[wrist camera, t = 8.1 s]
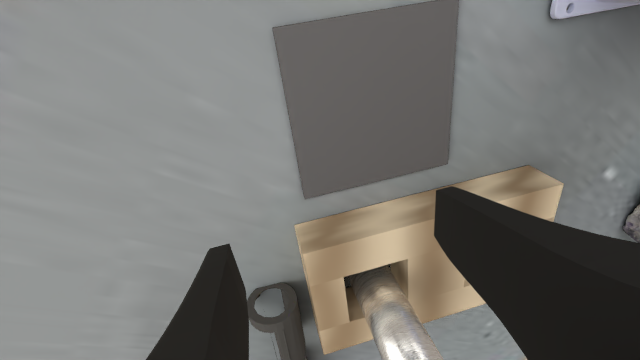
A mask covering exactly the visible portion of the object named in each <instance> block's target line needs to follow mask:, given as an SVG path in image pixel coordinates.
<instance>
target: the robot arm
mask: <svg viewBox="0 0 640 360" xmlns="http://www.w3.org/2000/svg"><path fill="white" fill-rule="evenodd" d="M639 4H640V0H552V5H551V10H550V15H551V17H552V18H553V19H564V18H569V17H574V16H580V15H585V14H590V13H596V12H601V11H606V10H612V9H617V8H622V7H628V6H633V5H639ZM567 6H568V9H567ZM566 9H567V11H566ZM434 237H435V239H436V240H437V242H438V243H439V245H440V247H441V248H442V250H443V251H444V253H445V254H446V256H447V257H448V259H449V260H450V261H451V262H452V264H453V265H454V266H455V267H456V268H457V270H458V271H459V272H460V273H461V274H462V276H463V277H464V278H465V279H466V280H467V281H468V283H469V284H470V285H471V286H472V287H473V288H474V290H475V291H476V292H477V293H478V294H479V295H480V297H481V298H482V299H483V300H484V301H485V302H486V303H487V305H488V306H489V307H490V308H491V309H492V310H493V312H494V313H495V314H496V316H497V317H498V318H499V319H500V321H501V322H502V323H503V325H504V326H505V327H506V329H507V330H508V332H509V333H510V334H511V336H512V337H513V339H514V340H515V342H516V343H517V344H518V346H519V347H520V349H521V350H522V352H523V353H524V355H525V356H526V358H527V359H528V360H640V243H636V242H631V241H626V240H621V239H616V238H611V237H607V236H603V235H598V234H594V233H591V232H587V231H583V230H579V229H575V228H572V227H568V226H565V225H561V224H558V223H554V222H551V221H548V220H545V219H542V218H539V217H536V216H533V215H530V214H527V213H524V212H522V211H519V210H516V209H513V208H511V207H508V206H505V205H503V204H500V203H497V202H495V201H492V200H489V199H487V198H484V197H482V196H479V195H476V194H474V193H471V192H468V191H466V190H463V189H460V188H457V187H454V186H450V187H446V188H442V189H438V190H436V201H435V221H434ZM146 360H249V317H248V307H247V299H246V291H245V286H244V284H243V281H242V278H241V275H240V272H239V270H238V267H237V264H236V261H235V258H234V256H233V253H232V250H231V247H230V244H226V245H222V246H218V247H214V248H210V249H209V251H208V252H207V254H206V256H205V259H204V261H203V263H202V265H201V267H200V269H199V271H198V273H197V275H196V277H195V279H194V281H193V283H192V285H191V287H190V289H189V291H188V292H187V294H186V296H185V298H184V300H183V302H182V304H181V305H180V307H179V309H178V311H177V312H176V314H175V315H174V317H173V319H172V320H171V322H170V324H169V325H168V327H167V329H166V330H165V332H164V334H163V335H162V337H161V338H160V340H159V341H158V343H157V344H156V346H155V347H154V349H153V350H152V352H151V353H150V354H149V356H148V357H147V359H146Z"/></svg>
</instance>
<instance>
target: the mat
mask: <svg viewBox="0 0 640 360" xmlns="http://www.w3.org/2000/svg"><path fill="white" fill-rule="evenodd" d="M458 7H459V0H436V1H430V2H424V3H418V4H412V5H406V6H400V7H394V8H388V9H382V10H376V11H370V12H364V13H358V14H352V15H346V16H340V17H334V18H328V19H322V20H316V21H310V22H304V23H298V24H292V25H286V26H280V27H274V28H273V33H274V39H275V44H276V49H277V55H278V60H279V65H280V71H281V76H282V81H283V87H284V92H285V98H286V103H287V108H288V114H289V119H290V124H291V130H292V135H293V140H294V146H295V151H296V156H297V162H298V167H299V172H300V178H301V183H302V188H303V194H304V198H305V199H307V198H311V197H316V196H320V195H324V194H328V193H332V192H336V191H340V190H344V189H348V188H352V187H356V186H360V185H364V184H368V183H372V182H377V181H381V180H385V179H389V178H393V177H397V176H401V175H405V174H409V173H413V172H417V171H421V170H425V169H429V168H434V167H438V166H442V165H446V164H448V152H449V138H450V123H451V109H452V94H453V80H454V65H455V51H456V36H457V21H458Z"/></svg>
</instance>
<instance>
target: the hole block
mask: <svg viewBox="0 0 640 360" xmlns="http://www.w3.org/2000/svg"><path fill="white" fill-rule="evenodd" d="M563 185H564V184H563V183H561V182H559V181H557V180H556V179H554V178H552V177H550V176H548V175H546V174H544V173H543V172H541V171H539V170H537V169H535V168H533V167H531V166H530V165H527V166H523V167H519V168H515V169H512V170H508V171H504V172H500V173H496V174H492V175H488V176H484V177H480V178H476V179H472V180H469V181H465V182H461V183H457V184H453V185H449V186H445V187H441V188H437V189H433V190H430V191H426V192H422V193H418V194H414V195H410V196H406V197H402V198H398V199H394V200H390V201H387V202H383V203H379V204H375V205H371V206H367V207H363V208H359V209H355V210H351V211H348V212H344V213H340V214H336V215H332V216H328V217H324V218H320V219H316V220H312V221H308V222H305V223H301V224H297V225H294V226H295V231H296V236H297V240H298V245H299V249H300V254H301V259H302V263H303V268H304V273H305V277H306V282H307V286H308V291H309V296H310V300H311V305H312V310H313V314H314V319H315V323H316V327H317V330H318V334H319V338H320V342H321V345H322V349H323V353H324V355H325V354H328V353H331V352H335V351H338V350H341V349H344V348H347V347H350V346H354V345H357V344H360V343H363V342H366V341H369V340H372V339H374V338H373V336H372V333H371V331H370V329H369V326H368V324H367V321H366V319H365V317H364V314H363V312H362V310H361V307H360V305H359V303H358V300H357V298H356V295H355V293H354V291H353V288H352V287H349V288H345V284H344V277H346V276H349V275H353V274H356V273H360V272H363V271H367V270H370V269H374V268H377V267H381V266H384V265H388V264H391V272H392V274H393V275H394V277H395V279H396V280H397V282H398V284H399V286H400V287H401V289H402V291H403V292H404V294H405V296H406V297H407V299H408V301H409V302H410V304H411V306H412V307H413V309H414V311H415V312H416V314H417V316H418V318H419V319H420V321H421V323H422V324H423V323H426V322H429V321H432V320H435V319H439V318H442V317H445V316H448V315H451V314H454V313H457V312H461V311H464V310H467V309H470V308H473V307H476V306H479V305H483V304H486V302H485V301H484V300H483V299H482V298H481V297H480V295H479V294H478V293H477V292H476V291H475V290H474V288H473V287H472V286H471V285H470V284H469V283H468V281H467V280H466V279H465V278H464V277H463V276H462V274H461V273H460V272H459V271H458V270H457V268H456V267H455V266H454V265H453V264H452V262H451V261H450V260H449V259H448V257H447V256H446V254H445V253H444V251H443V250H442V248H441V247H440V245H439V243H438V242H437V240H436V239H435V237H434V221H435V201H436V190H438V189H442V188H446V187H450V186H454V187H457V188H460V189H463V190H466V191H468V192H471V193H474V194H476V195H479V196H482V197H484V198H487V199H489V200H492V201H495V202H497V203H500V204H503V205H505V206H508V207H511V208H513V209H516V210H519V211H522V212H524V213H527V214H530V215H533V216H536V217H539V218H542V219H545V220H548V221H551V222H553V221H554V217H555V214H556V210H557V207H558V203H559V199H560V196H561V192H562V188H563Z"/></svg>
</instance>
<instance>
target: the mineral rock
mask: <svg viewBox="0 0 640 360" xmlns="http://www.w3.org/2000/svg"><path fill="white" fill-rule="evenodd" d="M623 229H624V231H625V232H626V233H627V234H628V235H630V236H631V237H632V238H633V239H634V240H636V241H637V242H638V243H640V204H639V205H638V206H637V207H636V208H635V210H634V211H633V213H632V214H630V215H629V216H628V217H627V220H626V225H624V226H623Z"/></svg>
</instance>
